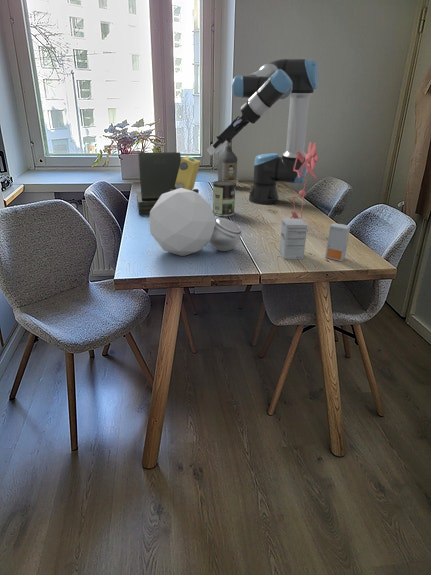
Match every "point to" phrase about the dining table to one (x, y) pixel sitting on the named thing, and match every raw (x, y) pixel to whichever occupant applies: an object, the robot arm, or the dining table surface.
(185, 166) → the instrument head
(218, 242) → the lamp
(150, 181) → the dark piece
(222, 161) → the liquor
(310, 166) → the figurine
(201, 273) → the dining table surface
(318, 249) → the dining table surface
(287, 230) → the supplement box
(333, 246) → the skincare box
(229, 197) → the coffee can
